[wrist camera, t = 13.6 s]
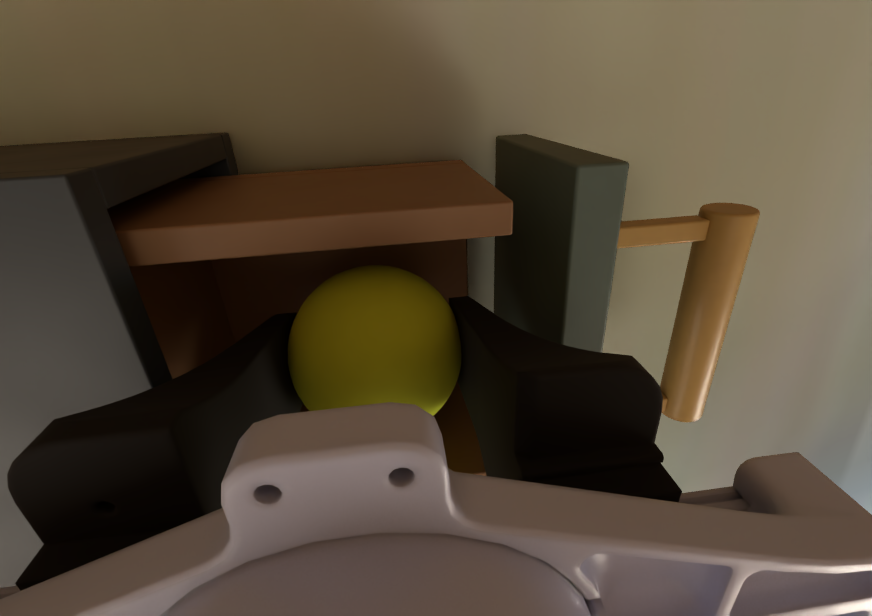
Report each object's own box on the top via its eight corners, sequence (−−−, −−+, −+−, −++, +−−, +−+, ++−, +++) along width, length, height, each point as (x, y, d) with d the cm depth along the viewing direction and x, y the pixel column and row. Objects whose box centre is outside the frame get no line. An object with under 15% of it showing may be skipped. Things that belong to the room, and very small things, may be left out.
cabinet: (228, 132, 16) (64, 174, 7) (292, 394, 21) (236, 587, 13) (-196, 157, 14) (-942, 239, 6) (-17, 428, 20) (-296, 664, 11)
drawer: (650, 126, 16) (831, 147, 10) (613, 359, 21) (719, 479, 14) (170, 156, 15) (7, 205, 8) (245, 400, 19) (178, 553, 13)
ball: (451, 365, 16) (478, 466, 12) (316, 379, 16) (292, 490, 11) (446, 236, 14) (477, 302, 10) (289, 249, 14) (245, 324, 9)
